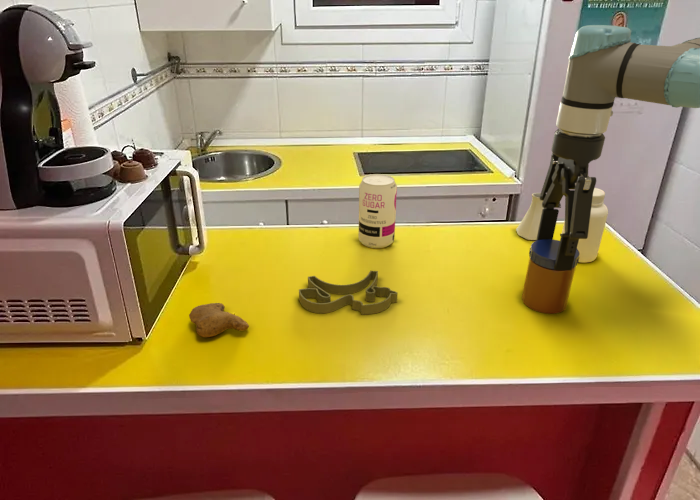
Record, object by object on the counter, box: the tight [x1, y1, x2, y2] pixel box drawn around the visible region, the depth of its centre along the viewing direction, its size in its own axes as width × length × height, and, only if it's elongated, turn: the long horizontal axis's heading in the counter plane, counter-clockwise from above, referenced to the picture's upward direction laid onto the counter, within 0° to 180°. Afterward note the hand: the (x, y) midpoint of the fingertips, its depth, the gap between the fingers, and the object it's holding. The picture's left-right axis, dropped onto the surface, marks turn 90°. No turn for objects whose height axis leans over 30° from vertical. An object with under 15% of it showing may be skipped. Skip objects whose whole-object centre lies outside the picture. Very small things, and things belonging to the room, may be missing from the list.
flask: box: [515, 192, 544, 241], centre depth 121 cm, size 7×7×10 cm
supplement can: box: [357, 173, 398, 249], centre depth 116 cm, size 8×8×15 cm
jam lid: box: [528, 239, 580, 270], centre depth 93 cm, size 8×8×2 cm
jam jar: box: [521, 257, 577, 315], centre depth 95 cm, size 8×8×10 cm
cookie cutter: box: [298, 270, 398, 316], centre depth 98 cm, size 18×12×2 cm, turn 100°
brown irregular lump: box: [188, 302, 250, 338], centre depth 90 cm, size 10×10×4 cm
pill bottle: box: [561, 187, 609, 264], centre depth 111 cm, size 8×8×15 cm
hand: (552, 254), depth 93 cm, fingers open, 10 cm apart
